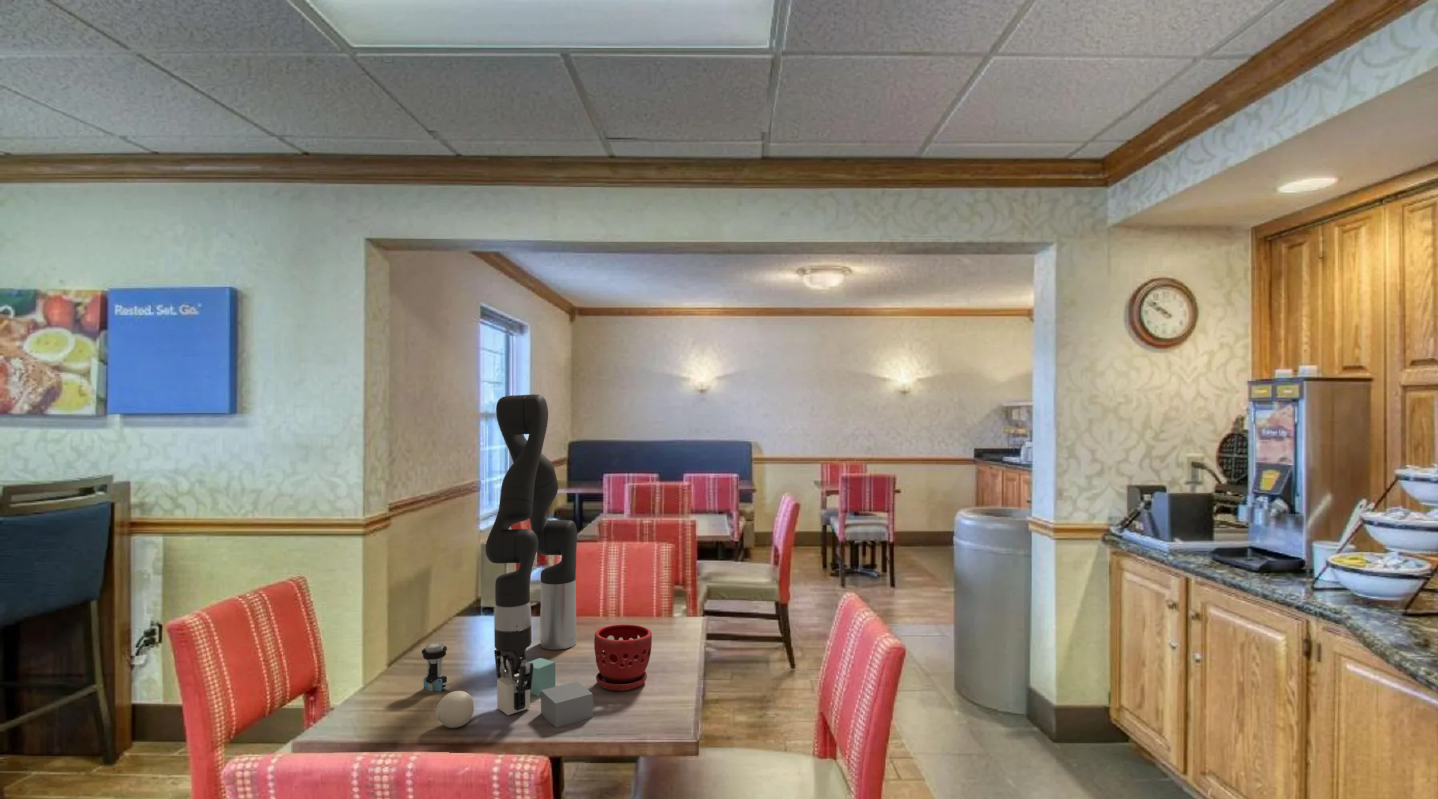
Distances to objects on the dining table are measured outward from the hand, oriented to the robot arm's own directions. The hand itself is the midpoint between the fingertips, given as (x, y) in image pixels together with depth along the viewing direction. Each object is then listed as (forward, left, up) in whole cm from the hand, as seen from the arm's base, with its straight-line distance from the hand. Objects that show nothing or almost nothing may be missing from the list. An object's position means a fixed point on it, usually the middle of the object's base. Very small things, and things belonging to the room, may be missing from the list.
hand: (513, 704), depth 147 cm
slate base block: (+10, +7, -1) cm, 12 cm away
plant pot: (+4, +25, -1) cm, 25 cm away
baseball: (-1, -12, -1) cm, 12 cm away
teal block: (-6, +9, -1) cm, 11 cm away
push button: (-22, -8, -1) cm, 23 cm away
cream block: (0, 0, -1) cm, 1 cm away
